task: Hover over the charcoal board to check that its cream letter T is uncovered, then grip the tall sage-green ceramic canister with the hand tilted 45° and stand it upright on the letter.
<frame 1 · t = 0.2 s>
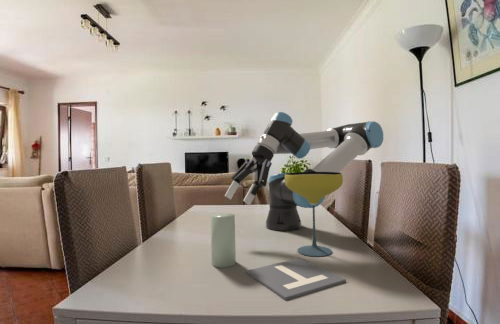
hand: (236, 200, 106), 16 cm above the table, tool tilted 35°, fingers open, 13 cm apart
cocktail glass: (314, 251, 98), on the table
letter board: (293, 277, 78), on the table
green canister: (223, 263, 89), on the table
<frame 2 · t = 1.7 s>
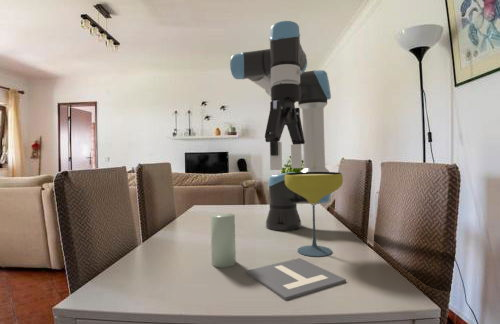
hand: (287, 169, 78), 28 cm above the table, tool pointing down, fingers open, 13 cm apart
nothing on the table moved.
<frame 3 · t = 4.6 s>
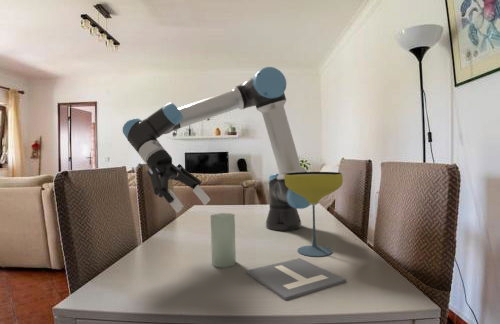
hand: (194, 205, 93), 16 cm above the table, tool tilted 45°, fingers open, 13 cm apart
nothing on the table moved.
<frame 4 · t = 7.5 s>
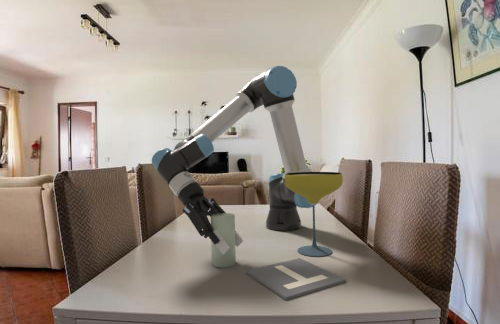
hand: (233, 247, 87), 5 cm above the table, tool tilted 45°, fingers closed on green canister, 7 cm apart
green canister: (223, 263, 89), on the table, touching gripper
everything else where it was.
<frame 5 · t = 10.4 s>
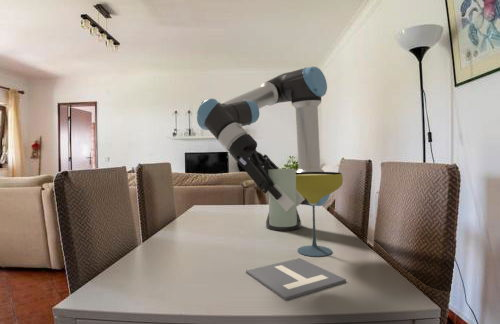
hand: (295, 205, 76), 19 cm above the table, tool tilted 45°, fingers closed on green canister, 7 cm apart
green canister: (283, 223, 78), point 14 cm above the table, touching gripper
everything else where it was.
when the fingers open (7 cm above the table, at t = 13.2 s): green canister drops 1 cm, resting on letter board.
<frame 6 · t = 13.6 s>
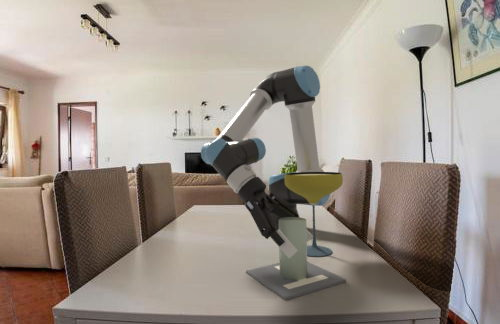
hand: (302, 246, 76), 8 cm above the table, tool tilted 45°, fingers open, 12 cm apart
green canister: (293, 274, 78), point 1 cm above the table, touching letter board
everything else where it was.
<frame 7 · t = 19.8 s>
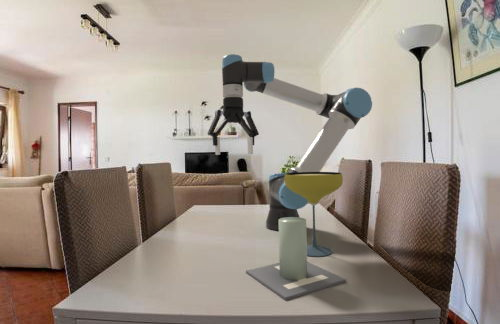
hand: (234, 154, 115), 32 cm above the table, tool pointing down, fingers open, 13 cm apart
nothing on the table moved.
at the end: green canister inside the target area on the letter board (0.1 cm from its centre), point 0.6 cm above the letter board's base; green canister tilted 0°; the gripper is holding nothing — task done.
